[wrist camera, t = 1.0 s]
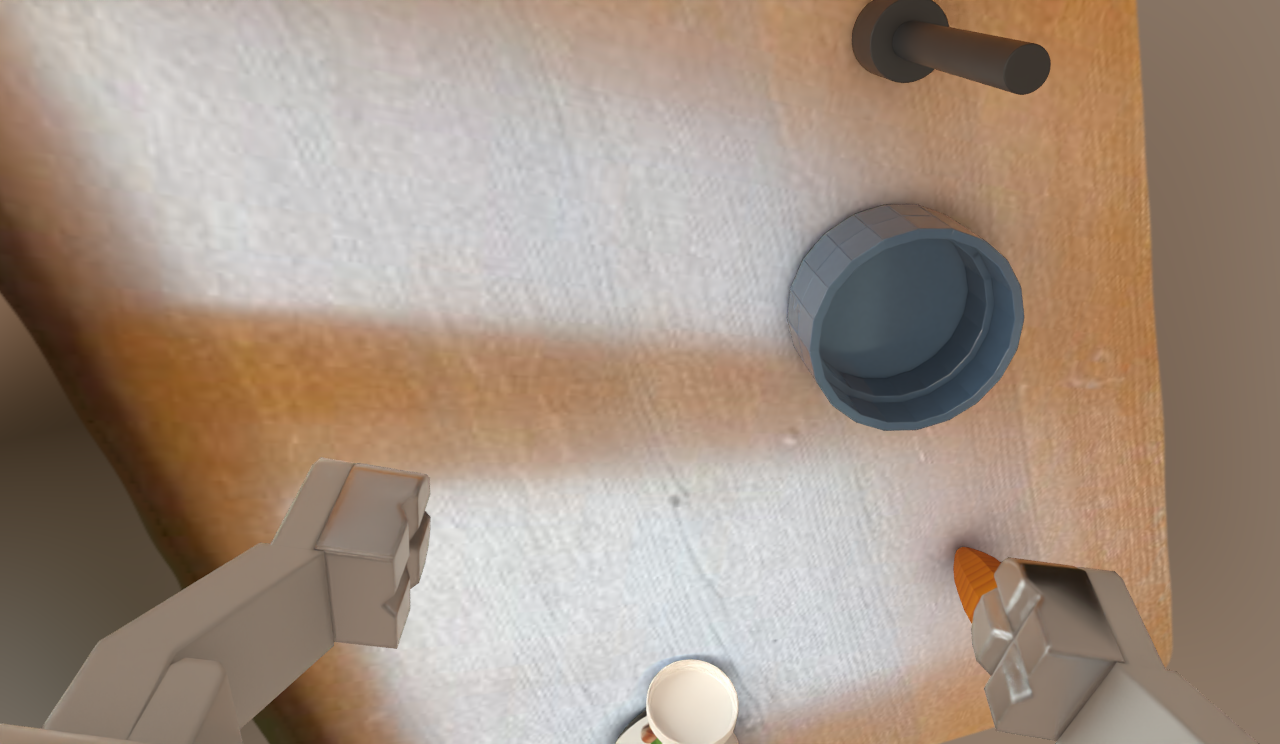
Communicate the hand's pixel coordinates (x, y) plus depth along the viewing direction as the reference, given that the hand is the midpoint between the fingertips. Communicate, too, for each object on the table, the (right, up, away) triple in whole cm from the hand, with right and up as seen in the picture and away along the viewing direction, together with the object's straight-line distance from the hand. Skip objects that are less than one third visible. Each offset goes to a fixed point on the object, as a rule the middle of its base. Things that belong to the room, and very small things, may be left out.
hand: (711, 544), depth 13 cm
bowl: (+15, +7, +46) cm, 48 cm away
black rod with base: (+13, +22, +39) cm, 46 cm away
